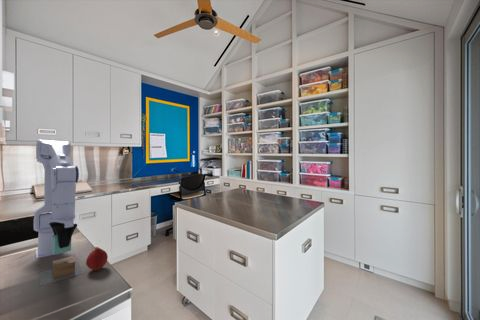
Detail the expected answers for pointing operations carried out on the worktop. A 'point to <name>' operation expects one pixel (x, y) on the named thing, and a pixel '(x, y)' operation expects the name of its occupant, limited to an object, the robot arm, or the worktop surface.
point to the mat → (48, 278)
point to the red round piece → (96, 259)
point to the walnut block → (63, 267)
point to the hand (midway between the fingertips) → (62, 245)
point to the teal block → (56, 248)
